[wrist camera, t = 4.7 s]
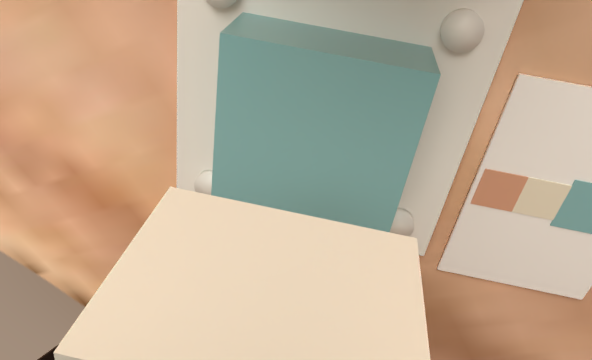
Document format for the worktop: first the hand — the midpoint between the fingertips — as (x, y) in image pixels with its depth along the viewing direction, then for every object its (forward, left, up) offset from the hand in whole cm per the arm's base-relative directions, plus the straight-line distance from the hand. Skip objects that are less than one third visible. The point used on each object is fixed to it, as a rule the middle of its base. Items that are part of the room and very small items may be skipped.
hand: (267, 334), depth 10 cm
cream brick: (0, 0, -1) cm, 1 cm away
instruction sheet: (-10, +2, -12) cm, 16 cm away
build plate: (0, 0, -12) cm, 12 cm away
